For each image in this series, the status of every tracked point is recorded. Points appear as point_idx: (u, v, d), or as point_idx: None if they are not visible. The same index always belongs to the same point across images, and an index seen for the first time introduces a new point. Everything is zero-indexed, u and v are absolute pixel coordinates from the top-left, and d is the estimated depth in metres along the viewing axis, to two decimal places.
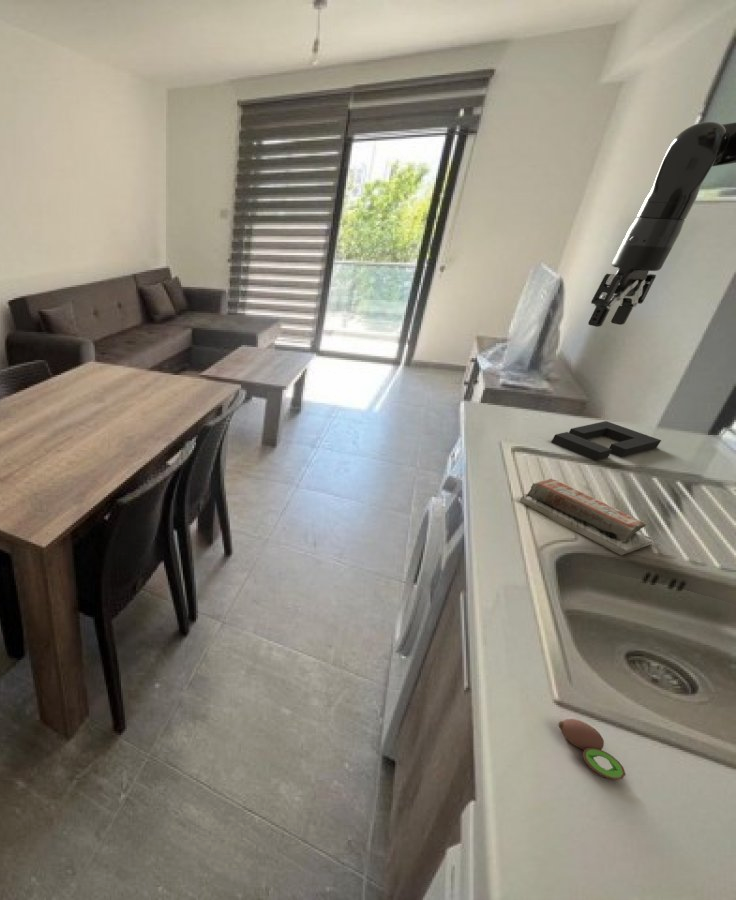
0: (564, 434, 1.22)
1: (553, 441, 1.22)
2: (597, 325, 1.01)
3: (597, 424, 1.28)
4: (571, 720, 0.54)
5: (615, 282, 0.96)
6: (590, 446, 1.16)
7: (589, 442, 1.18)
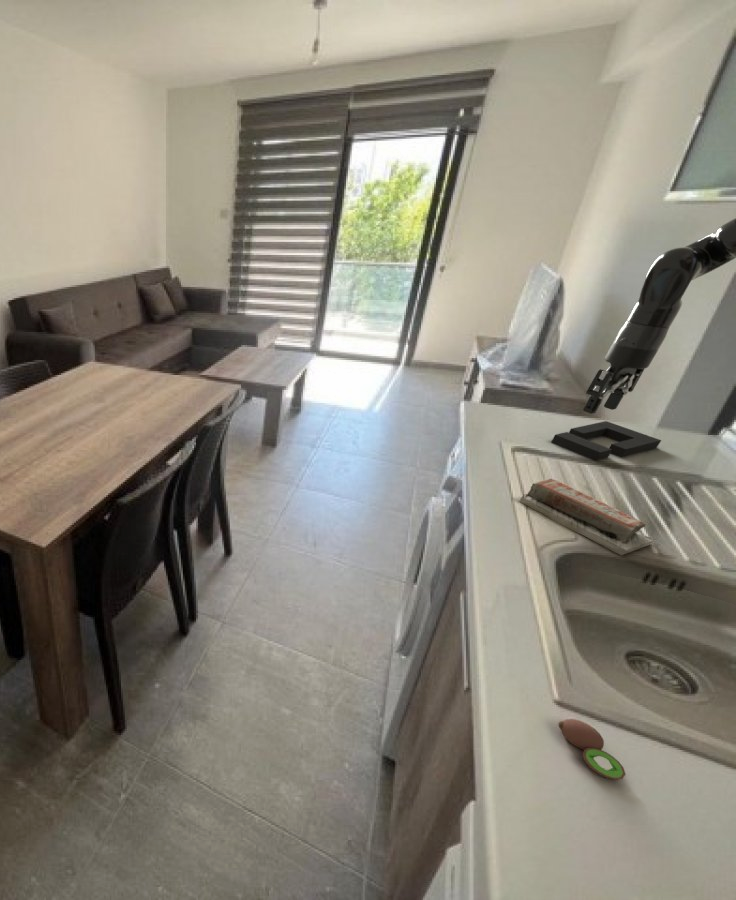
0: (564, 434, 1.22)
1: (553, 441, 1.22)
2: (591, 412, 1.12)
3: (597, 424, 1.28)
4: (571, 720, 0.54)
5: (607, 378, 1.07)
6: (590, 446, 1.16)
7: (589, 442, 1.18)
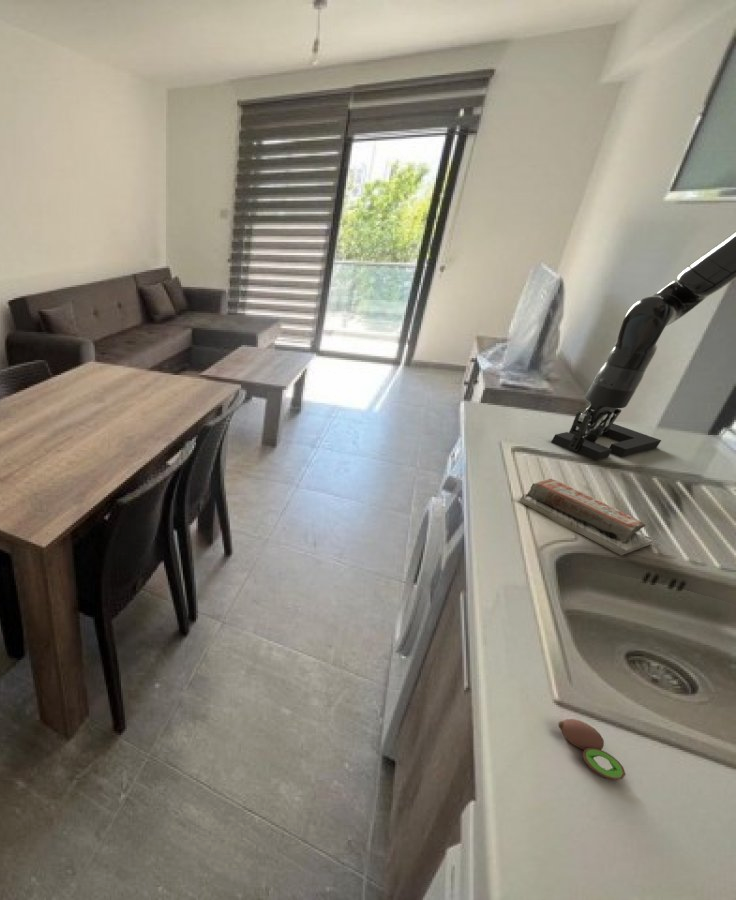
0: (564, 434, 1.22)
1: (553, 441, 1.22)
2: (575, 450, 1.17)
3: None
4: (571, 720, 0.54)
5: (586, 421, 1.12)
6: (590, 446, 1.16)
7: (589, 442, 1.18)
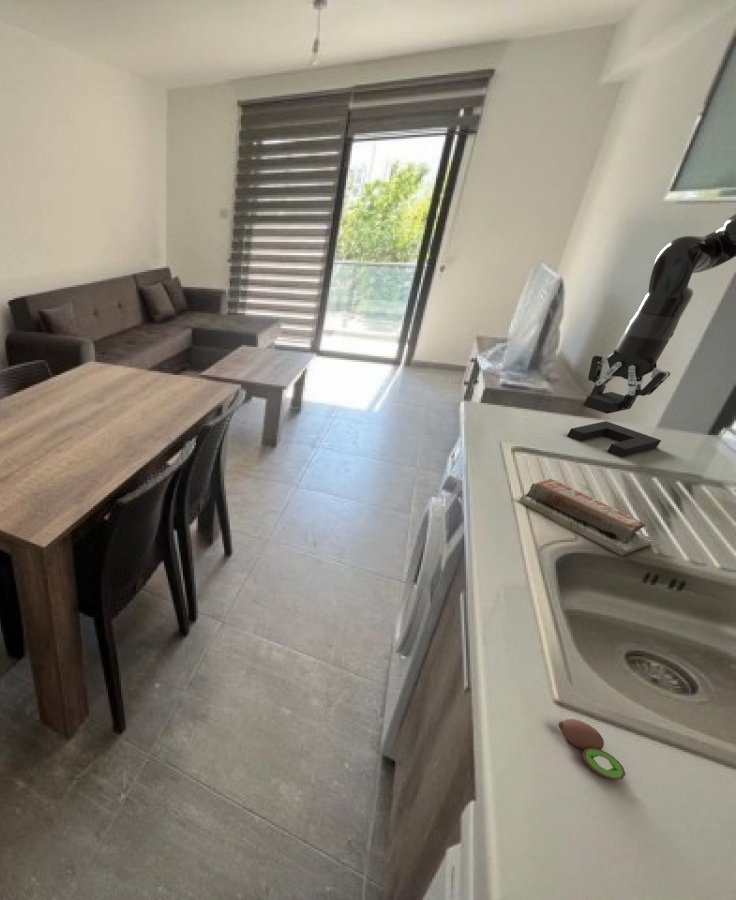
0: (621, 395, 1.15)
1: None
2: None
3: (597, 424, 1.28)
4: (571, 720, 0.54)
5: (592, 361, 1.15)
6: (600, 396, 1.13)
7: (616, 399, 1.12)
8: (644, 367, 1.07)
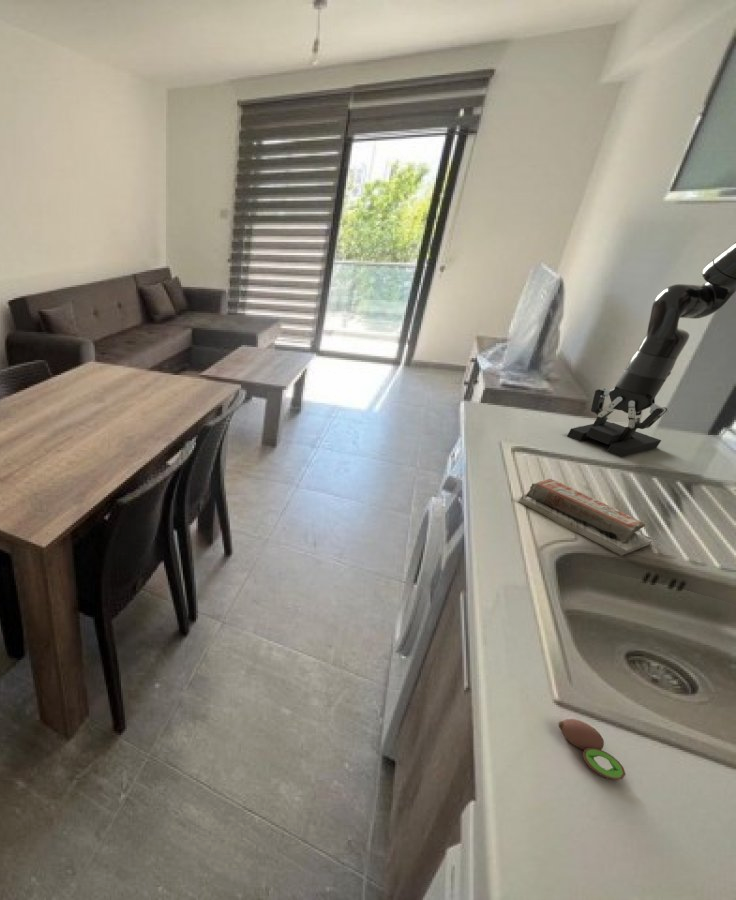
0: (622, 426, 1.23)
1: None
2: None
3: None
4: (571, 720, 0.54)
5: (595, 394, 1.23)
6: (602, 428, 1.22)
7: (616, 431, 1.20)
8: (643, 402, 1.15)
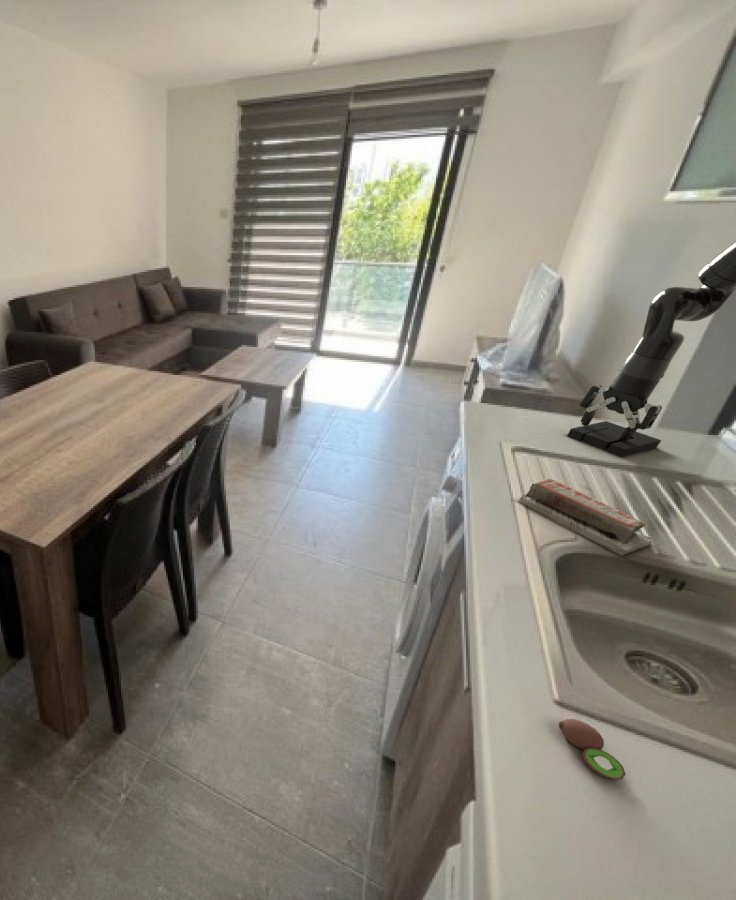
0: (617, 433, 1.24)
1: None
2: (582, 423, 1.27)
3: (597, 424, 1.28)
4: (571, 720, 0.54)
5: (589, 390, 1.24)
6: (597, 434, 1.23)
7: (612, 437, 1.21)
8: (636, 404, 1.16)
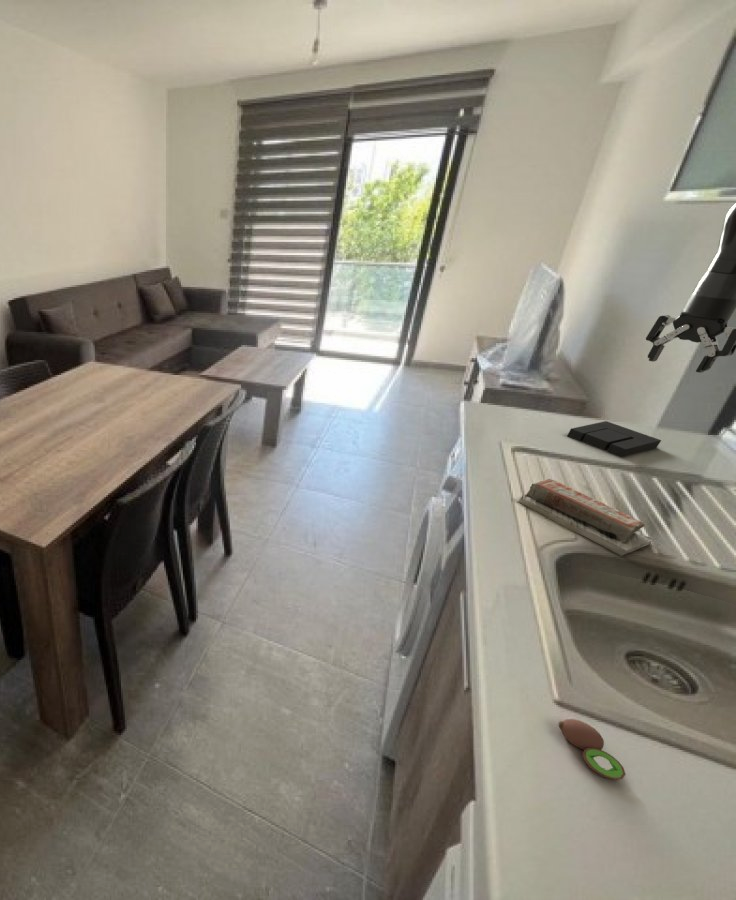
0: (617, 433, 1.24)
1: None
2: None
3: (597, 424, 1.28)
4: (571, 720, 0.54)
5: None
6: (597, 434, 1.23)
7: (612, 437, 1.21)
8: (714, 328, 1.05)
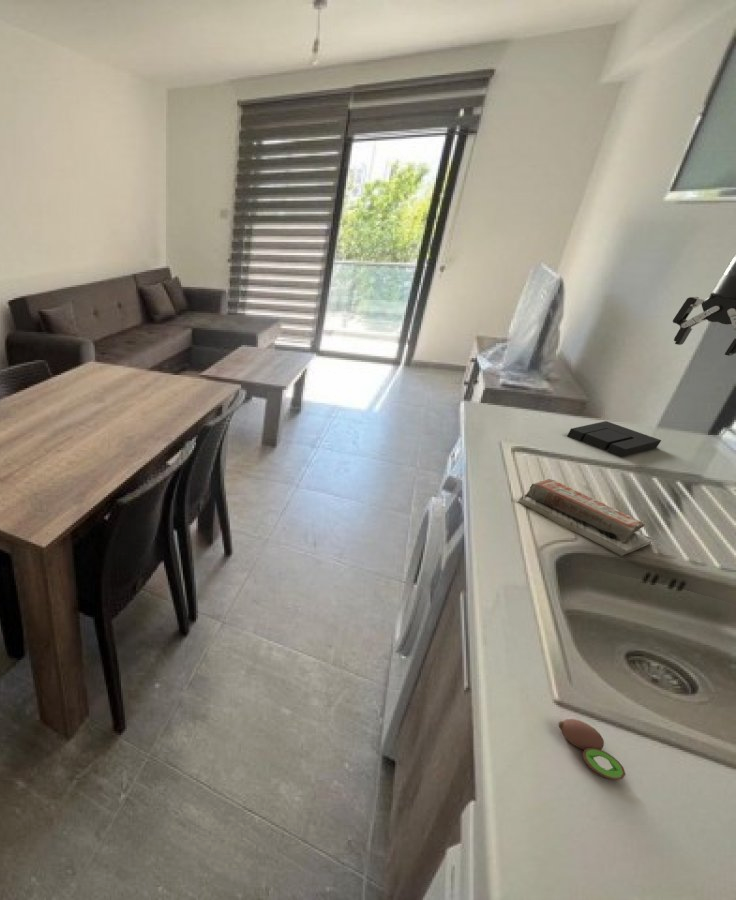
0: (617, 433, 1.24)
1: None
2: (675, 343, 1.12)
3: (597, 424, 1.28)
4: (571, 720, 0.54)
5: None
6: (597, 434, 1.23)
7: (612, 437, 1.21)
8: None
